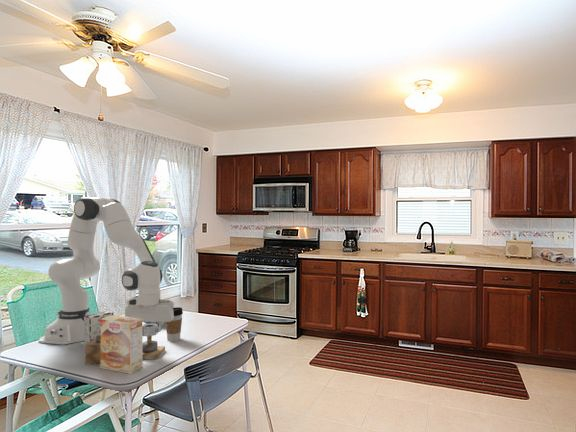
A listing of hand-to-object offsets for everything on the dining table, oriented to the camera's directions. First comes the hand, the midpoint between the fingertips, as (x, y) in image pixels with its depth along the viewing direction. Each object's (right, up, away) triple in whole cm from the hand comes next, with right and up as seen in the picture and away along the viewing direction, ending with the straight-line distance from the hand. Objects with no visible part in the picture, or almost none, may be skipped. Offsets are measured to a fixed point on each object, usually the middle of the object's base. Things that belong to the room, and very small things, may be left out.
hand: (149, 331), depth 164 cm
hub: (0, -10, 0) cm, 10 cm away
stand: (-18, -10, -8) cm, 22 cm away
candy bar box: (-24, -10, +5) cm, 26 cm away
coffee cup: (+4, -10, +20) cm, 23 cm away
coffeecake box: (-6, -10, -14) cm, 18 cm away
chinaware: (-15, -10, +45) cm, 49 cm away
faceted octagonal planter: (0, -1, 0) cm, 1 cm away
